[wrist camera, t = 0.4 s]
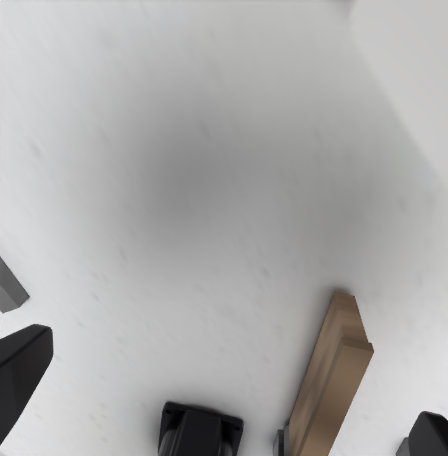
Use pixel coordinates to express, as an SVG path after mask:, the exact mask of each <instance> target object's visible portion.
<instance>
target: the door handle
mask: <svg viewBox="0 0 448 456" xmlns="http://www.w3.org/2000/svg"><path fill="white" fill-rule="evenodd" d="M29 297H30V296H29V295H28V293H27V292H26V291H25V289H24V288H23V287H22V285H21V284H20V283H19V281H18V280H17V279H16V277H15V276H14V275H13V273H12V272H11V271H10V269H9V268H8V266H7V265H6V264H5V262H4V261H3V260H2V258H1V257H0V311H1V312H2V313H5V312H8V311H11V310H14V309H17V308H20V306H21V305H22V304H23V303H24V302H25V301H26V300H27V299H28V298H29Z"/></svg>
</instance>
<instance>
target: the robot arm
mask: <svg viewBox="0 0 448 456" xmlns="http://www.w3.org/2000/svg"><path fill="white" fill-rule="evenodd" d="M52 357H53V333H52V329H51V328H50V327H48V326H44V325H39V324H33V325H30V326H28V327H26V328H24V329H22V330H19V331H17V332H15V333H13V334H11V335H8V336H6V337H4V338H2V339H0V445H1V444H2V442H3V441H4V439H5V438H6V436H7V435H8V434H9V432H10V431H11V429H12V428H13V426H14V425H15V423H16V422H17V420H18V419H19V417H20V415H21V414H22V412H23V410H24V408H25V407H26V405H27V403H28V401H29V400H30V398H31V396H32V394H33V392H34V391H35V389H36V387H37V385H38V384H39V382H40V380H41V378H42V377H43V375H44V373H45V371H46V370H47V368H48V366H49V364H50V362H51V360H52ZM243 427H244V423H243V422H242V421H241V420H238V419H234V418H230V417H226V416H221V415H217V414H213V413H209V412H205V411H201V410H196V409H192V408H188V407H184V406H180V405H175V404H171V403H166V404H165V405H164V408H163V411H162V419H161V428H160V437H159V446H158V456H236V455H237V451H238V447H239V444H240V440H241V436H242V432H243ZM408 447H409V453H410V456H448V420H447V419H446V418H445V417H443V416H442V415H440V414H436V413H432V412H427V411H423V412H421V413H420V414H419V416H418V418H417V420H416V422H415V424H414V426H413V427H412V429H411V431H410V433H409V437H408Z"/></svg>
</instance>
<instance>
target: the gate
mask: <svg viewBox="0 0 448 456" xmlns="http://www.w3.org/2000/svg"><path fill="white" fill-rule="evenodd" d="M373 353H374V350H373V347H372V343H368V339H367V336H366V333H365V330H364V326H363V323H362V320H361V316H360V313H359V310H358V306H357V303H356V300H355V296H351V295H347V294H342V293H337V292H334V295H333V298H332V301H331V303H330V306H329V309H328V312H327V315H326V318H325V321H324V324H323V326H322V329H321V332H320V335H319V338H318V341H317V344H316V347H315V349H314V352H313V355H312V358H311V361H310V364H309V367H308V370H307V372H306V375H305V378H304V381H303V384H302V387H301V390H300V393H299V395H298V398H297V401H296V404H295V407H294V410H293V413H292V416H291V419H290V421H289V424H288V425H287V426H285V428H284V456H328V454H329V452H330V450H331V448H332V445H333V443H334V441H335V439H336V436H337V434H338V432H339V430H340V427H341V425H342V423H343V421H344V418H345V416H346V414H347V412H348V409H349V407H350V405H351V403H352V400H353V398H354V396H355V394H356V391H357V389H358V387H359V385H360V383H361V380H362V378H363V376H364V374H365V371H366V369H367V367H368V365H369V362H370V360H371V358H372V356H373Z"/></svg>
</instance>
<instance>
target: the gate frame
mask: <svg viewBox="0 0 448 456" xmlns="http://www.w3.org/2000/svg"><path fill="white" fill-rule="evenodd" d="M273 456H284V431H281V430H278V433H277V436H276V439H275V442H274V445H273ZM396 456H410V453H409V447H408V438H405V440H404V441H403V443H402V445H401V446H400V448H399V450H398V452H397V453H396Z"/></svg>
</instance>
